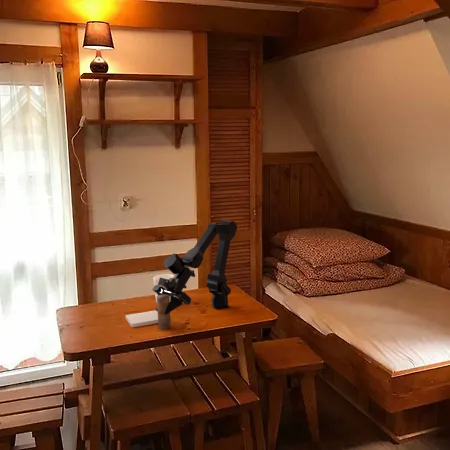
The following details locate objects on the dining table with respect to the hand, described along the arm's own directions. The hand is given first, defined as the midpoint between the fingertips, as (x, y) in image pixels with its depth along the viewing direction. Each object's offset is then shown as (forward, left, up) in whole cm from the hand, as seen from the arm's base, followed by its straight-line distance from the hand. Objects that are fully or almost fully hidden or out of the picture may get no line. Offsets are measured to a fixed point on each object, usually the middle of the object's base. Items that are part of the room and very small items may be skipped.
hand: (161, 312), depth 215 cm
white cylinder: (-11, -34, -7) cm, 36 cm away
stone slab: (+3, -13, -7) cm, 14 cm away
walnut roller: (-1, -1, -7) cm, 7 cm away
